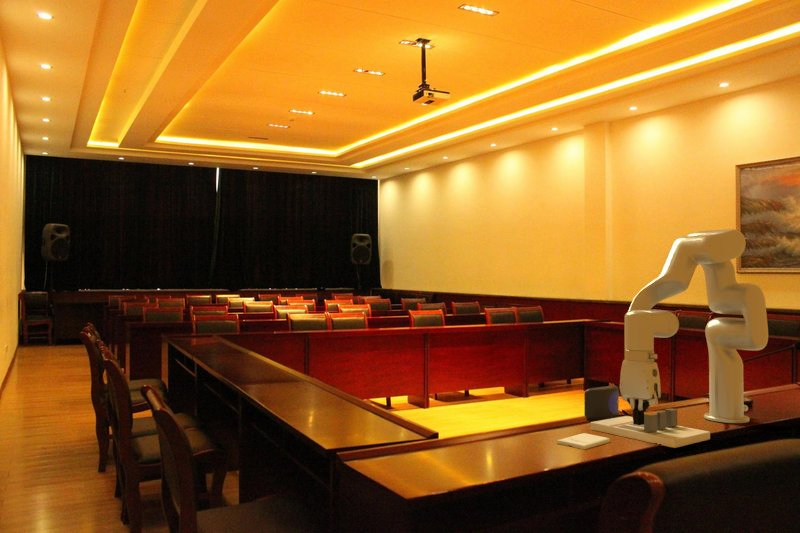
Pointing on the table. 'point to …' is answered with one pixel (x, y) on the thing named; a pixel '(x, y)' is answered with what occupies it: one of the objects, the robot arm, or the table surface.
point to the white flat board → (665, 436)
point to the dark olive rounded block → (601, 402)
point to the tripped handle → (650, 421)
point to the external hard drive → (583, 441)
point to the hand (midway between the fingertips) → (639, 424)
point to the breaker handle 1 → (661, 419)
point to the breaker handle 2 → (671, 417)
